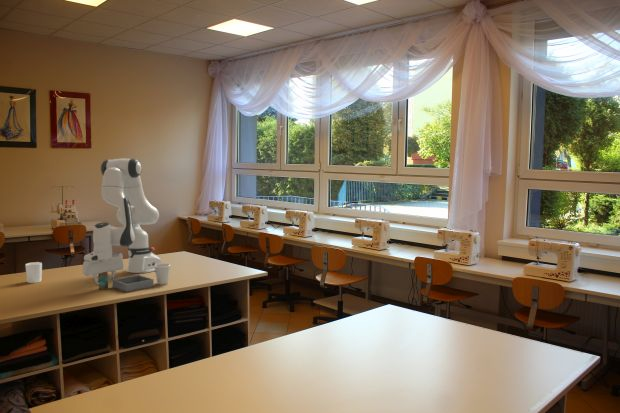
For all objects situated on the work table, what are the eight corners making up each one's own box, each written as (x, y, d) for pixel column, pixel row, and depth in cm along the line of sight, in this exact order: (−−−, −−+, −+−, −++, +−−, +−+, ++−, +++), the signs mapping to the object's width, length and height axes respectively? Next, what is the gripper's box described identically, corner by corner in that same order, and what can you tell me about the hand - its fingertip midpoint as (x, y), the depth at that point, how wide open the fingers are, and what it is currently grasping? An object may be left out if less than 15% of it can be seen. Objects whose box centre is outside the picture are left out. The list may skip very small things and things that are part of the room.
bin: (139, 282, 272) (138, 274, 271) (153, 286, 262) (153, 279, 261) (112, 287, 261) (112, 279, 260) (126, 292, 251) (126, 284, 250)
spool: (105, 287, 261) (105, 270, 260) (109, 288, 258) (109, 271, 257) (97, 288, 258) (96, 271, 257) (101, 290, 255) (100, 272, 254)
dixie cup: (173, 283, 269) (173, 265, 268) (158, 285, 264) (158, 267, 263) (166, 280, 275) (166, 262, 274) (152, 283, 270) (151, 264, 269)
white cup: (46, 280, 275) (45, 262, 274) (33, 283, 267) (33, 265, 266) (35, 279, 277) (34, 261, 276) (22, 282, 270) (21, 264, 269)
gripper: (119, 251, 266) (120, 276, 267) (80, 256, 251) (81, 283, 252) (125, 252, 262) (126, 278, 263) (86, 258, 247) (87, 285, 248)
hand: (104, 281), depth 258 cm, fingers open, 6 cm apart
